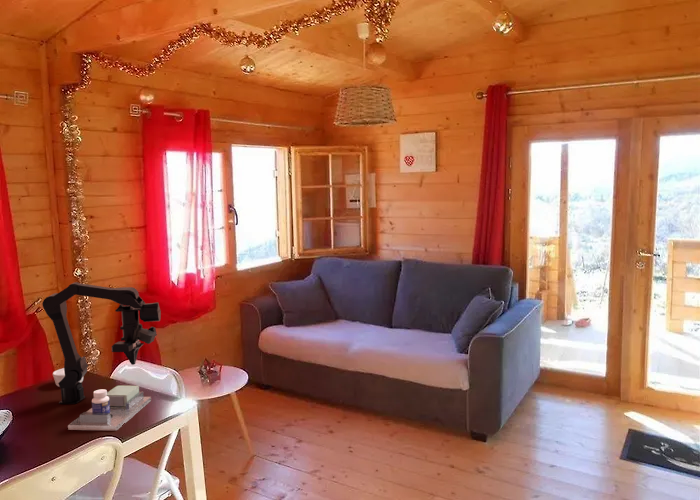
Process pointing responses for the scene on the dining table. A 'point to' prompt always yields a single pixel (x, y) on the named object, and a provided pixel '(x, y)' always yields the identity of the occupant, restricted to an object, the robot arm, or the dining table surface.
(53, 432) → the dining table surface
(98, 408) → the pill bottle
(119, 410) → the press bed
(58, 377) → the ramekin
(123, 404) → the block
